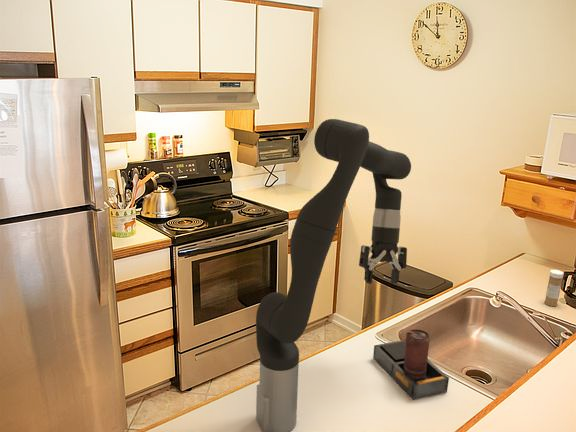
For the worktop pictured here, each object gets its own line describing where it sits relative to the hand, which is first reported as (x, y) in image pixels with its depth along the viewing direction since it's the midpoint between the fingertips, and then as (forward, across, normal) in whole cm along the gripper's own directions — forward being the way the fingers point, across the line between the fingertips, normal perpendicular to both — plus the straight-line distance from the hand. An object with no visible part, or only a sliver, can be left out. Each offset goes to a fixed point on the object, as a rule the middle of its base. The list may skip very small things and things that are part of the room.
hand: (381, 283), depth 142 cm
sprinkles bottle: (+12, +90, +16) cm, 93 cm away
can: (+26, +10, -5) cm, 29 cm away
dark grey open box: (+26, +11, -2) cm, 28 cm away
